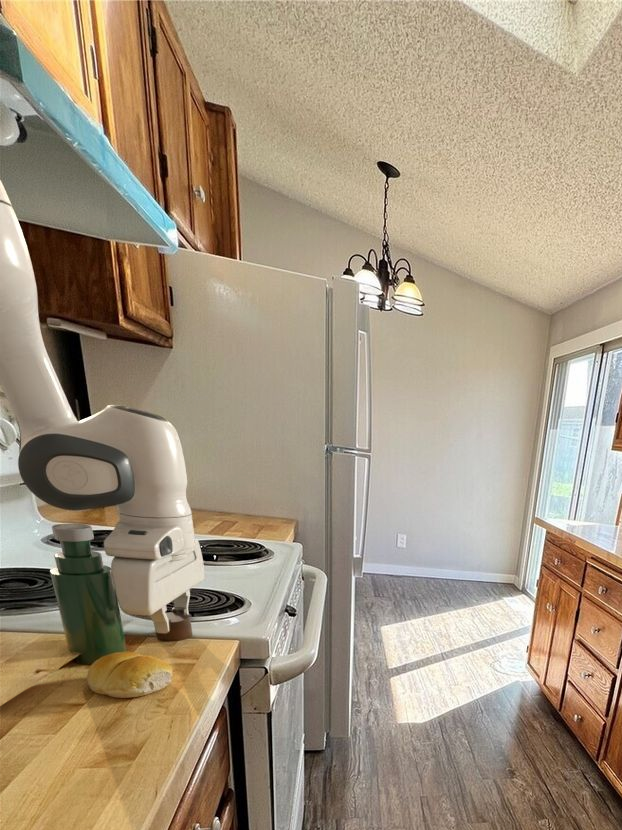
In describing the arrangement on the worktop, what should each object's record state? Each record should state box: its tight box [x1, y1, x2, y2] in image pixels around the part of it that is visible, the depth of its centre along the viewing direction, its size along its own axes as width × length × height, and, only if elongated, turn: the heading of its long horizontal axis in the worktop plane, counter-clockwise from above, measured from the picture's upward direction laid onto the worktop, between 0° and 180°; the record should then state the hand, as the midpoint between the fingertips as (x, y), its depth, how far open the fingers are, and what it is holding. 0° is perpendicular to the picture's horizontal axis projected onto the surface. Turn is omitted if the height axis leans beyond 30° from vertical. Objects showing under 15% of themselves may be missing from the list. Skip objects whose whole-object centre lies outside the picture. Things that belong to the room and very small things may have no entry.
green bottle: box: [49, 523, 128, 665], centre depth 73 cm, size 6×6×18 cm
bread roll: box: [86, 651, 173, 699], centre depth 69 cm, size 8×9×4 cm
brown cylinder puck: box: [155, 611, 193, 642], centre depth 85 cm, size 5×5×3 cm
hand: (173, 625), depth 85 cm, fingers closed on brown cylinder puck, 5 cm apart
